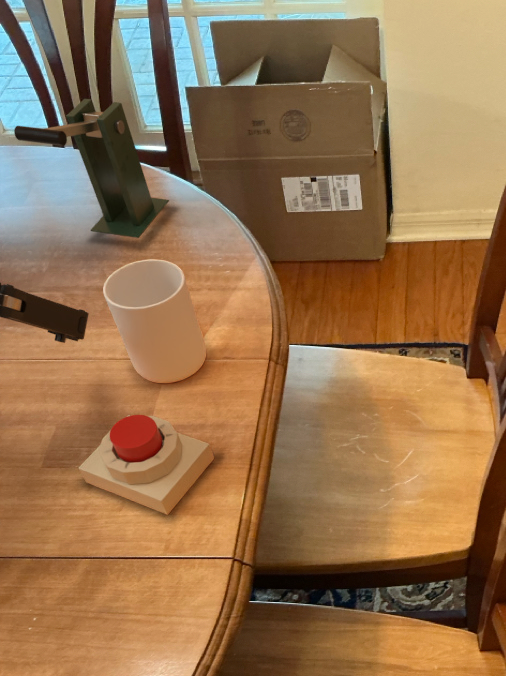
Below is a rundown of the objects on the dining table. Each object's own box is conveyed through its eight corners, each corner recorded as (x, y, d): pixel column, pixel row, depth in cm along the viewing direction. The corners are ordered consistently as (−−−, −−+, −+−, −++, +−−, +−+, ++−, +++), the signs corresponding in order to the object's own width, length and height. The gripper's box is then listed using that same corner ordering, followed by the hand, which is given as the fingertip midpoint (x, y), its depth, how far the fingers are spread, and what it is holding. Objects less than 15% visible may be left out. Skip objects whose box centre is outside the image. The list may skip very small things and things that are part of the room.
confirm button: (107, 454, 74) (99, 439, 72) (135, 424, 76) (128, 409, 74) (144, 468, 72) (137, 453, 71) (171, 437, 75) (165, 422, 73)
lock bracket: (141, 246, 100) (101, 130, 88) (93, 239, 101) (47, 124, 89) (171, 208, 105) (137, 94, 93) (125, 202, 106) (86, 88, 94)
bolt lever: (60, 151, 83) (56, 126, 82) (16, 146, 84) (11, 121, 83) (127, 136, 94) (124, 114, 93) (87, 131, 95) (84, 109, 94)
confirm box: (85, 482, 76) (70, 455, 73) (135, 429, 81) (122, 401, 77) (168, 515, 74) (155, 488, 70) (214, 458, 78) (205, 430, 75)
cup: (132, 389, 84) (99, 313, 76) (137, 320, 91) (107, 244, 83) (208, 379, 85) (184, 303, 76) (207, 312, 92) (185, 234, 83)
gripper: (-300, 273, 56) (-129, 314, 76) (53, 361, 59) (125, 377, 80) (-286, 167, 55) (-117, 238, 76) (72, 263, 58) (139, 305, 79)
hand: (8, 309), depth 78 cm, fingers open, 13 cm apart
